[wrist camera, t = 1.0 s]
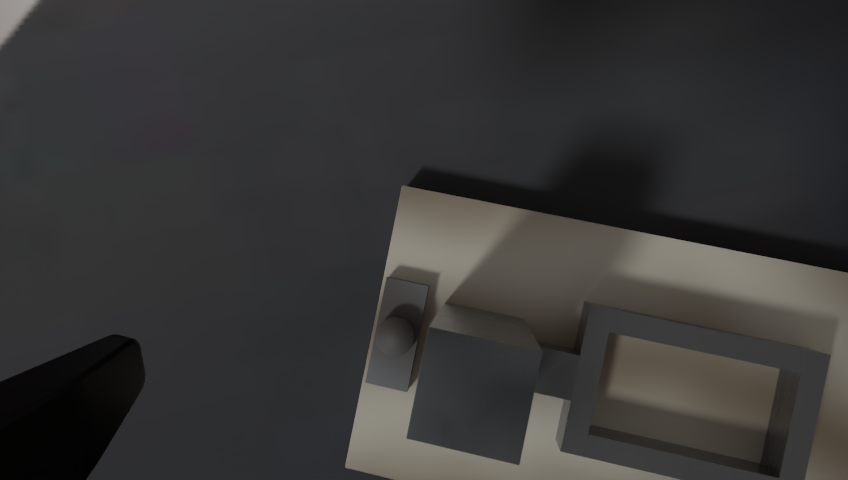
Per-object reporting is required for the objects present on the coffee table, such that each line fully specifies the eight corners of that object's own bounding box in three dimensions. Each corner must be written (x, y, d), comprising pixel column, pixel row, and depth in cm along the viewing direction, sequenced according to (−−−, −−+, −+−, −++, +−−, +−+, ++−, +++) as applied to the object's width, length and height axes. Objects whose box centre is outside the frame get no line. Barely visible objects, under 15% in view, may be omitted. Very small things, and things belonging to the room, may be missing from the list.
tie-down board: (1081, 635, 22) (1149, 680, 19) (350, 458, 24) (337, 479, 22) (1147, 333, 21) (1222, 343, 19) (405, 187, 24) (397, 182, 22)
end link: (778, 490, 22) (919, 606, 15) (423, 407, 23) (397, 479, 16) (808, 348, 22) (964, 396, 15) (451, 273, 23) (437, 285, 16)
